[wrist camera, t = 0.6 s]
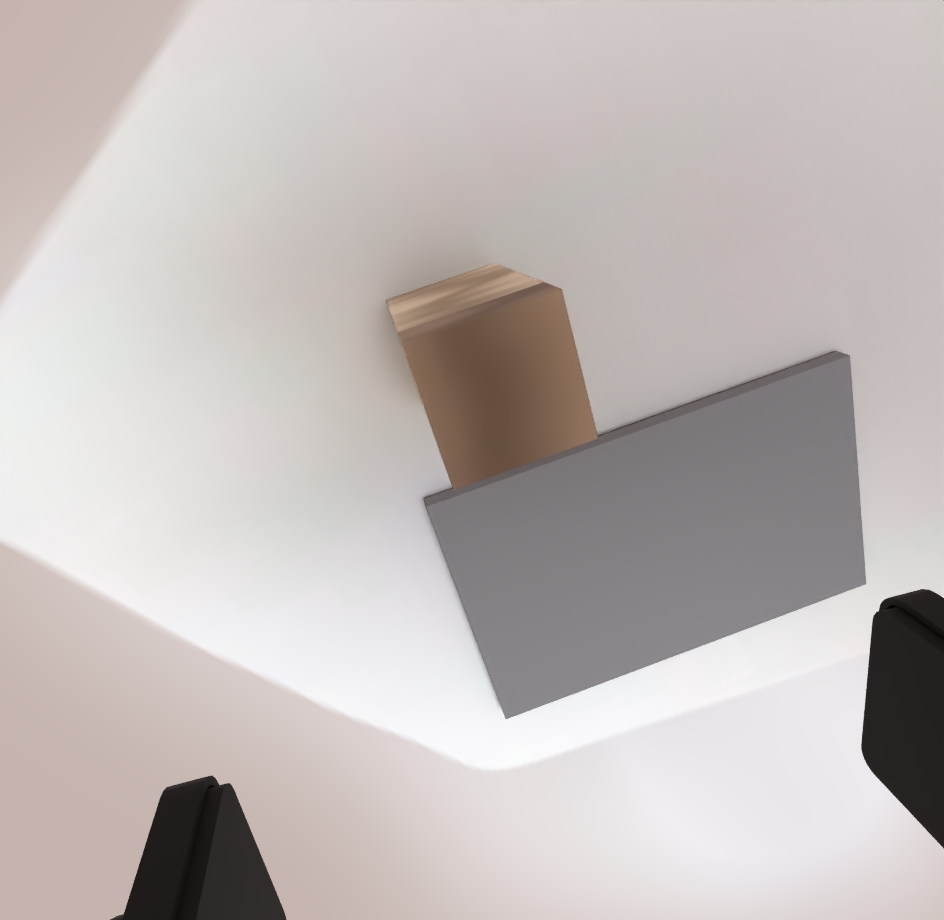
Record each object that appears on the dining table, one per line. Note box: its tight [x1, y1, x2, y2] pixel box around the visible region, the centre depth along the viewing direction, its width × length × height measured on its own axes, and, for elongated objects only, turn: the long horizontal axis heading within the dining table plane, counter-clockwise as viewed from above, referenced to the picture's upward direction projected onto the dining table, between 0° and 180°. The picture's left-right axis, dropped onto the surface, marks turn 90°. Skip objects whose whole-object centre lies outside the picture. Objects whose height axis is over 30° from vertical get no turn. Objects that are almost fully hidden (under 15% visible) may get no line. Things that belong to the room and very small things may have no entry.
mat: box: [424, 351, 866, 719], centre depth 35 cm, size 22×14×1 cm, turn 107°
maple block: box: [386, 263, 598, 490], centre depth 25 cm, size 5×5×10 cm
